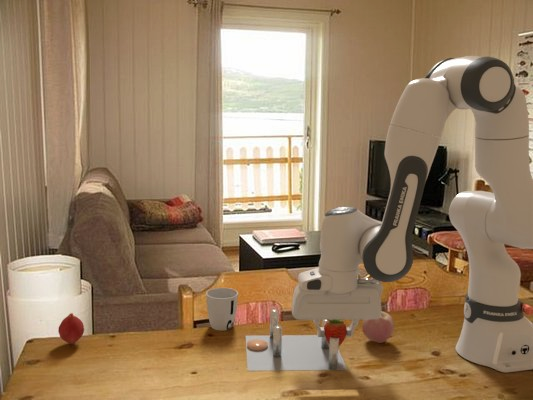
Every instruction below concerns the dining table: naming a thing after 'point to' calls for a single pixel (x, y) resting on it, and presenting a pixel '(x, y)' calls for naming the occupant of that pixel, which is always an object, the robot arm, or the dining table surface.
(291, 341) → the board
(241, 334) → the dining table surface
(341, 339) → the fruit
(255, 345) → the pad
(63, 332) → the onion
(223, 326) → the cup
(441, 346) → the dining table surface
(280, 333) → the posts
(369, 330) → the apple
